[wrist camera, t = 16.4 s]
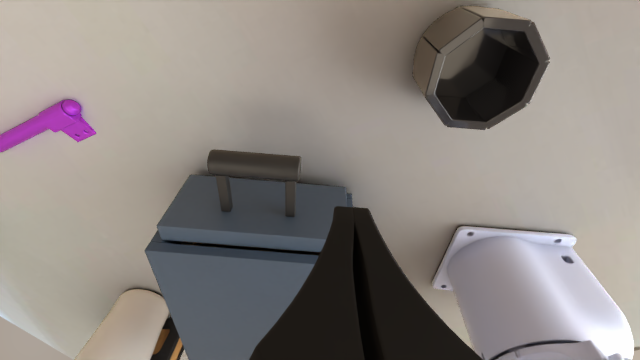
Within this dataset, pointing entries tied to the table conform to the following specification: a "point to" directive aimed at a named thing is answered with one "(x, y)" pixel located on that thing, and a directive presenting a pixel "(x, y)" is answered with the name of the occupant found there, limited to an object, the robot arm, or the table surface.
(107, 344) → the drinking glass
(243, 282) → the cabinet
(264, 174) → the drawer
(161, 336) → the ammunition clip
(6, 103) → the table surface
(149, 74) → the table surface
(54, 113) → the purple bicycle pump
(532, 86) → the grey hollow octagonal cup
